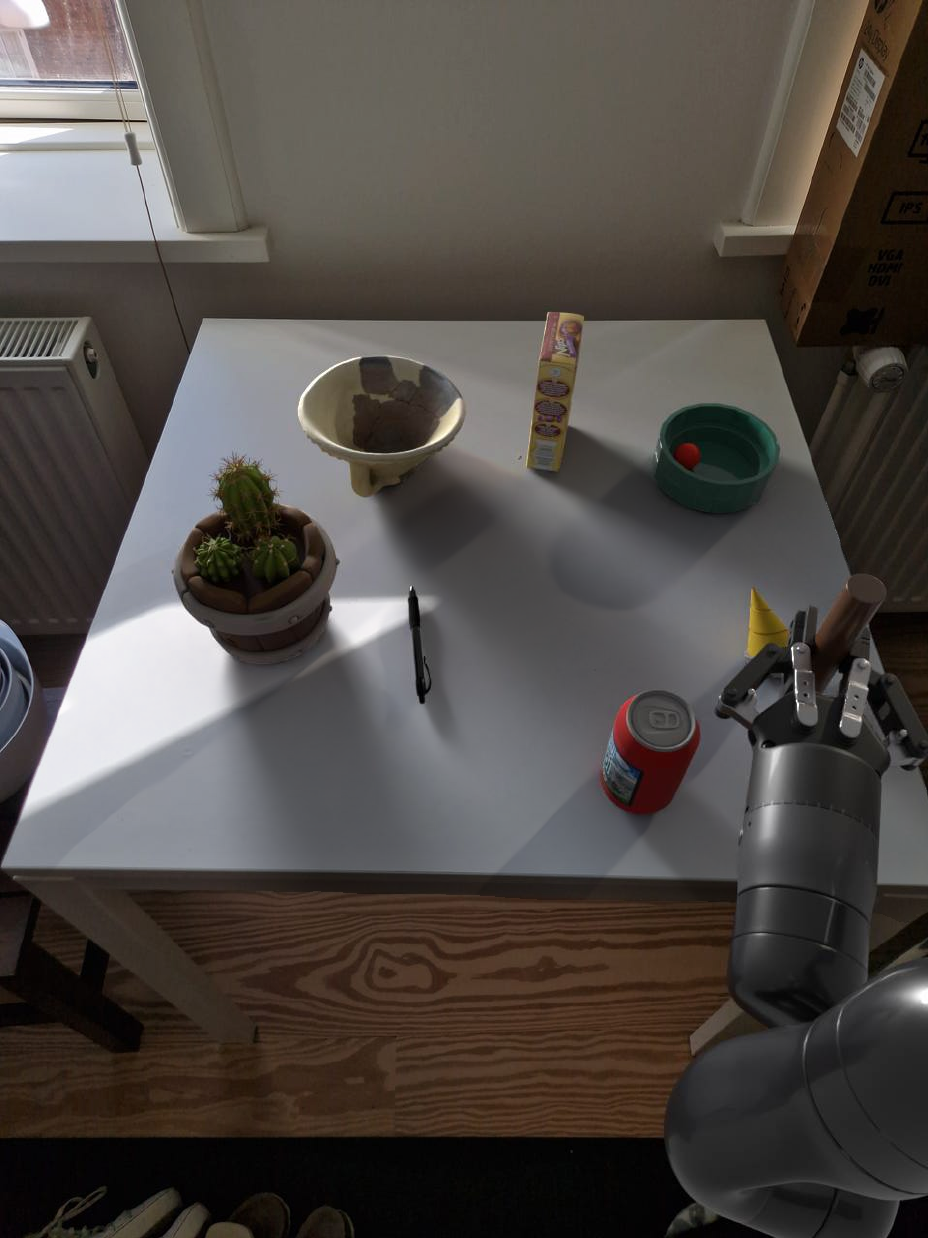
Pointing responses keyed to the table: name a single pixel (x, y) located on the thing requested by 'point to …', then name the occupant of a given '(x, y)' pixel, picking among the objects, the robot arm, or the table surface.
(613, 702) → the table surface
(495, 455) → the table surface
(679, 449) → the red ball
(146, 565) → the table surface
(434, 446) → the bowl
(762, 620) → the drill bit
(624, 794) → the beverage can
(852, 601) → the stirring stick
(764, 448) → the mixing bowl
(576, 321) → the candy box
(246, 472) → the flowerpot
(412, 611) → the pen
